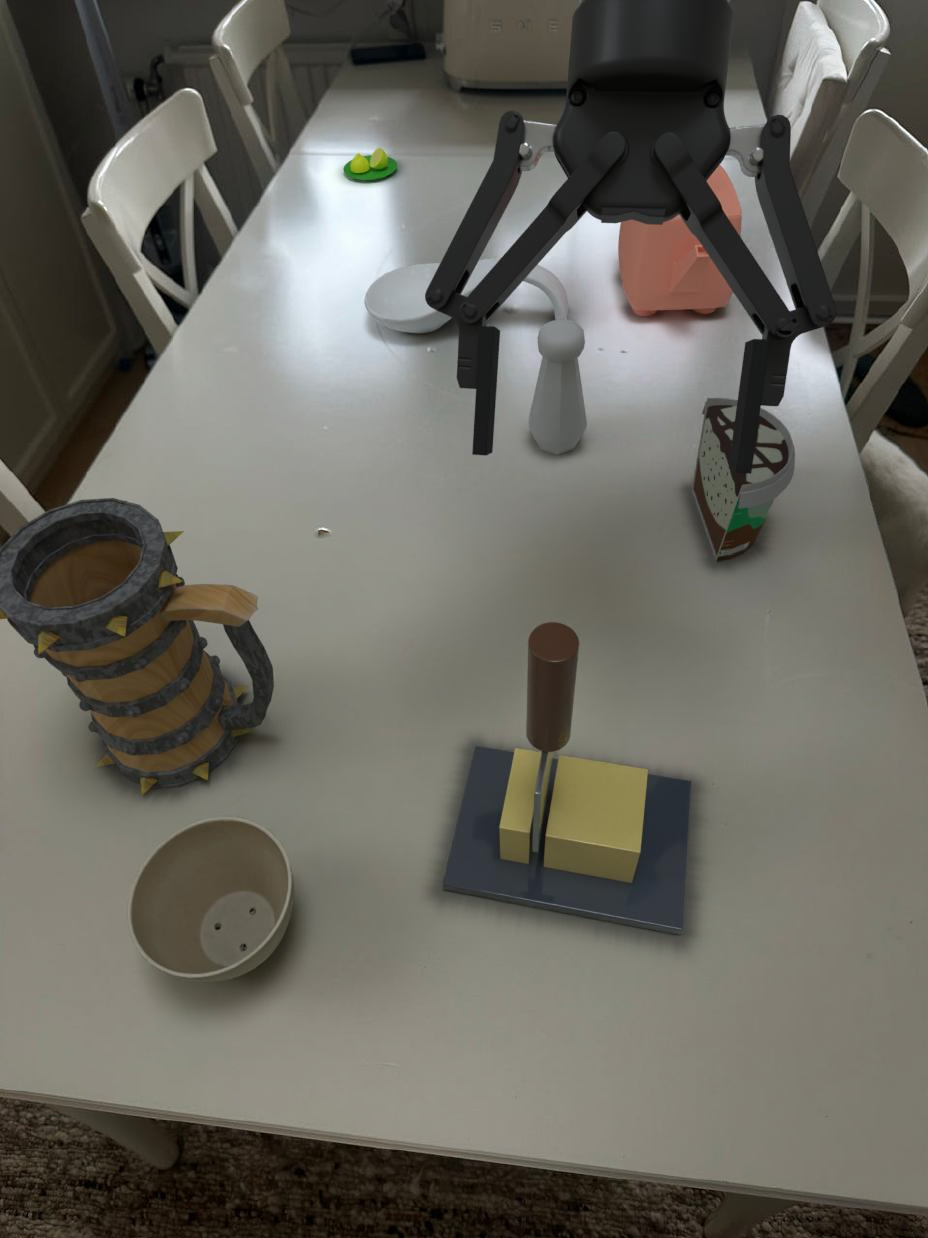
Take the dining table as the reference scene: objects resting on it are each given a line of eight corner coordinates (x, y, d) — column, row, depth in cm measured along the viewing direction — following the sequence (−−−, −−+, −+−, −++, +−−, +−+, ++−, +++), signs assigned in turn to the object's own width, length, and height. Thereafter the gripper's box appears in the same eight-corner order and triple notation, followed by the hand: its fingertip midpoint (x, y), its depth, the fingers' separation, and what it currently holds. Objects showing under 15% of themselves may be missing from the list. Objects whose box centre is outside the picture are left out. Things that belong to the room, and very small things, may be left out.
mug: (132, 655, 73) (29, 478, 58) (328, 676, 71) (276, 498, 55) (65, 792, 65) (-75, 629, 50) (283, 821, 63) (208, 660, 47)
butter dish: (689, 787, 63) (703, 745, 58) (680, 935, 57) (695, 902, 52) (475, 751, 66) (472, 709, 61) (443, 890, 59) (437, 854, 55)
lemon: (386, 154, 131) (384, 134, 129) (405, 175, 126) (403, 155, 124) (336, 166, 129) (333, 146, 127) (354, 188, 125) (351, 168, 123)
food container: (789, 568, 76) (821, 483, 68) (720, 574, 76) (744, 489, 68) (750, 474, 84) (775, 388, 76) (687, 479, 84) (705, 393, 76)
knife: (572, 747, 59) (588, 586, 46) (555, 856, 55) (568, 710, 41) (534, 741, 60) (540, 579, 47) (514, 848, 55) (514, 702, 42)
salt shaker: (589, 426, 89) (598, 313, 79) (581, 462, 86) (590, 349, 76) (533, 420, 90) (535, 307, 80) (523, 456, 87) (524, 343, 77)
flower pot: (173, 868, 61) (138, 824, 55) (314, 853, 61) (294, 808, 56) (154, 1018, 55) (113, 985, 49) (311, 1001, 55) (288, 967, 49)
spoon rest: (360, 347, 100) (351, 290, 94) (376, 292, 107) (369, 236, 102) (565, 351, 97) (568, 293, 92) (568, 294, 105) (571, 237, 99)
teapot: (741, 345, 97) (770, 221, 86) (628, 350, 97) (642, 227, 86) (707, 245, 110) (728, 127, 99) (607, 249, 111) (618, 132, 100)
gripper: (905, 39, 43) (833, 472, 48) (411, 37, 46) (396, 443, 51) (967, -34, 35) (875, 485, 41) (375, -30, 39) (363, 450, 44)
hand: (608, 463), depth 46 cm, fingers open, 13 cm apart
